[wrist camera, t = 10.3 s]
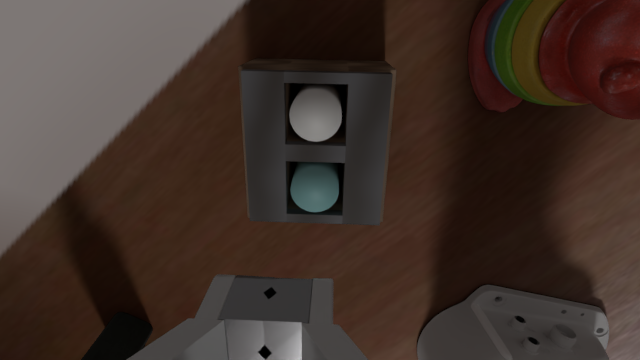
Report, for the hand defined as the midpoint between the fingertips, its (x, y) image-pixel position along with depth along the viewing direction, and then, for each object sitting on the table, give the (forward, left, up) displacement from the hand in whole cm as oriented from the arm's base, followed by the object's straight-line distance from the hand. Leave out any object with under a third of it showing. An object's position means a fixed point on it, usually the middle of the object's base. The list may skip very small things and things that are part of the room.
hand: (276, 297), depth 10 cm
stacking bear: (-18, -5, -29) cm, 35 cm away
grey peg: (0, 0, -29) cm, 29 cm away
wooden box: (0, +3, -29) cm, 29 cm away
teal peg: (0, +6, -29) cm, 29 cm away
